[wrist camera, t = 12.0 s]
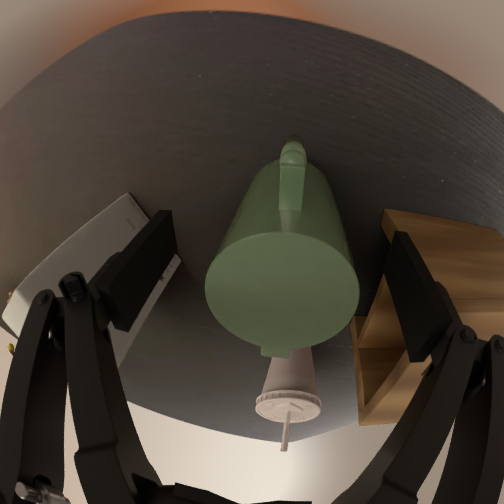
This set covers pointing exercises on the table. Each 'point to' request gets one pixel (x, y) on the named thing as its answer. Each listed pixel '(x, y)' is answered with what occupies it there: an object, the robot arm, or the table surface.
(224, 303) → the jug
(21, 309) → the rectangular carton
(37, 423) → the robot arm
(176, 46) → the table surface
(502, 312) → the stand
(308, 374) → the smoothie
